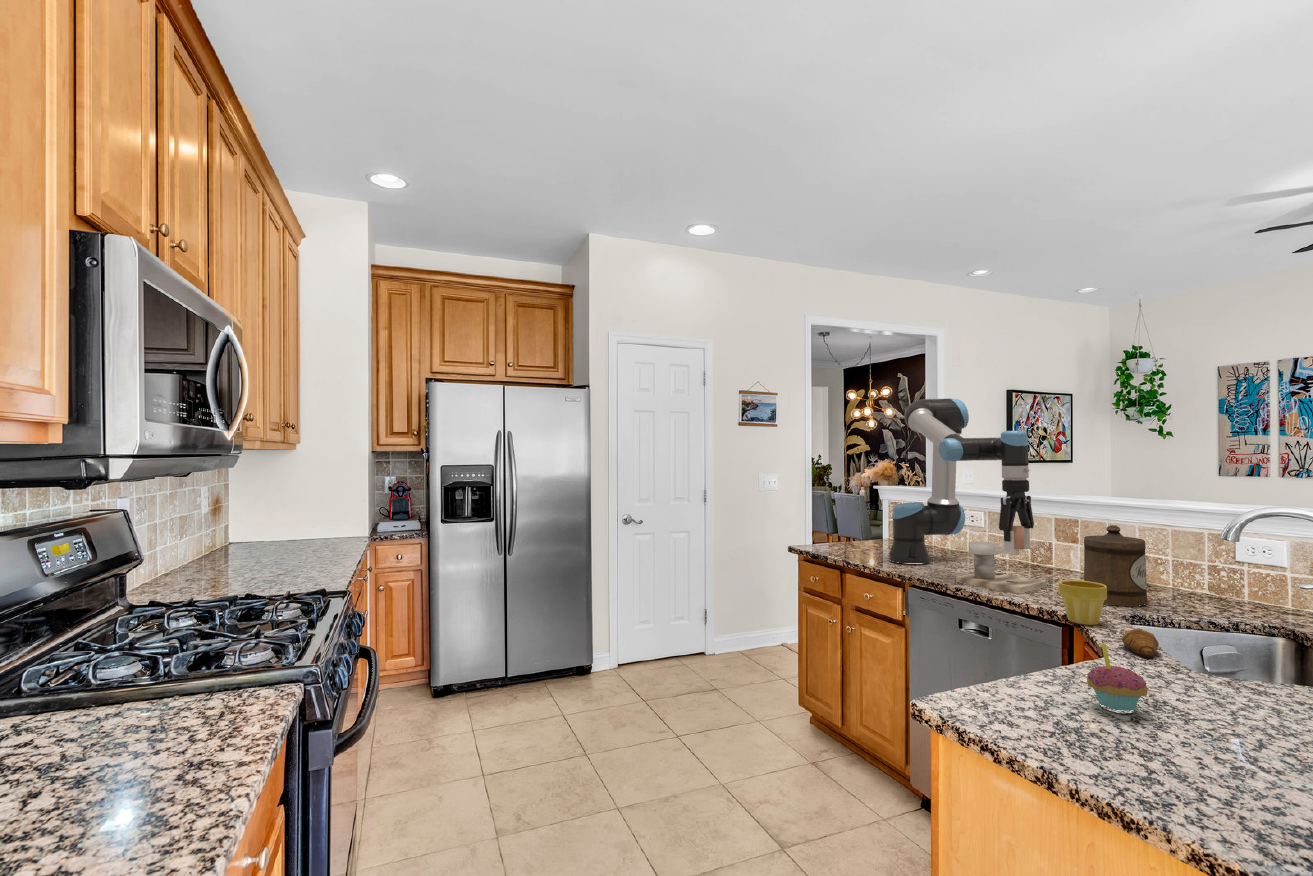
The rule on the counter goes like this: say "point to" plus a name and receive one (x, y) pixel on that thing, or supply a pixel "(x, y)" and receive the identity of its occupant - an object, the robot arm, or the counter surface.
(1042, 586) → the post base
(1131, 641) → the croissant
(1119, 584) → the wooden container
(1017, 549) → the crank handle
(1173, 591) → the counter surface
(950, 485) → the robot arm
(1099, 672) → the cupcake
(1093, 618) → the plant pot
